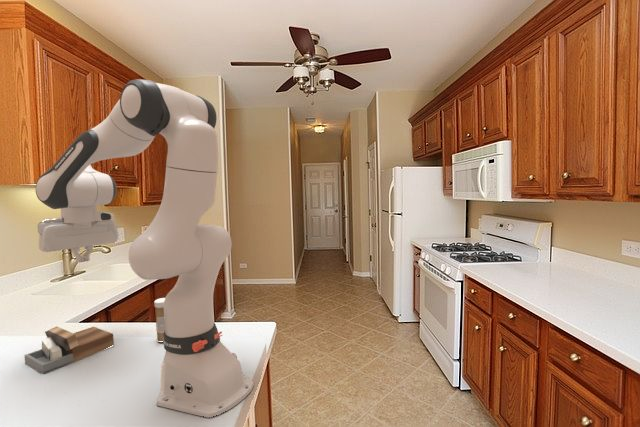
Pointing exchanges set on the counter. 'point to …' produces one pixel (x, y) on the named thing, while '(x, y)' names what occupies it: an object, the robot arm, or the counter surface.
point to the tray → (47, 361)
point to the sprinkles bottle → (160, 318)
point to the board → (91, 342)
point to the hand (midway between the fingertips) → (83, 261)
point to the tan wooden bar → (62, 338)
